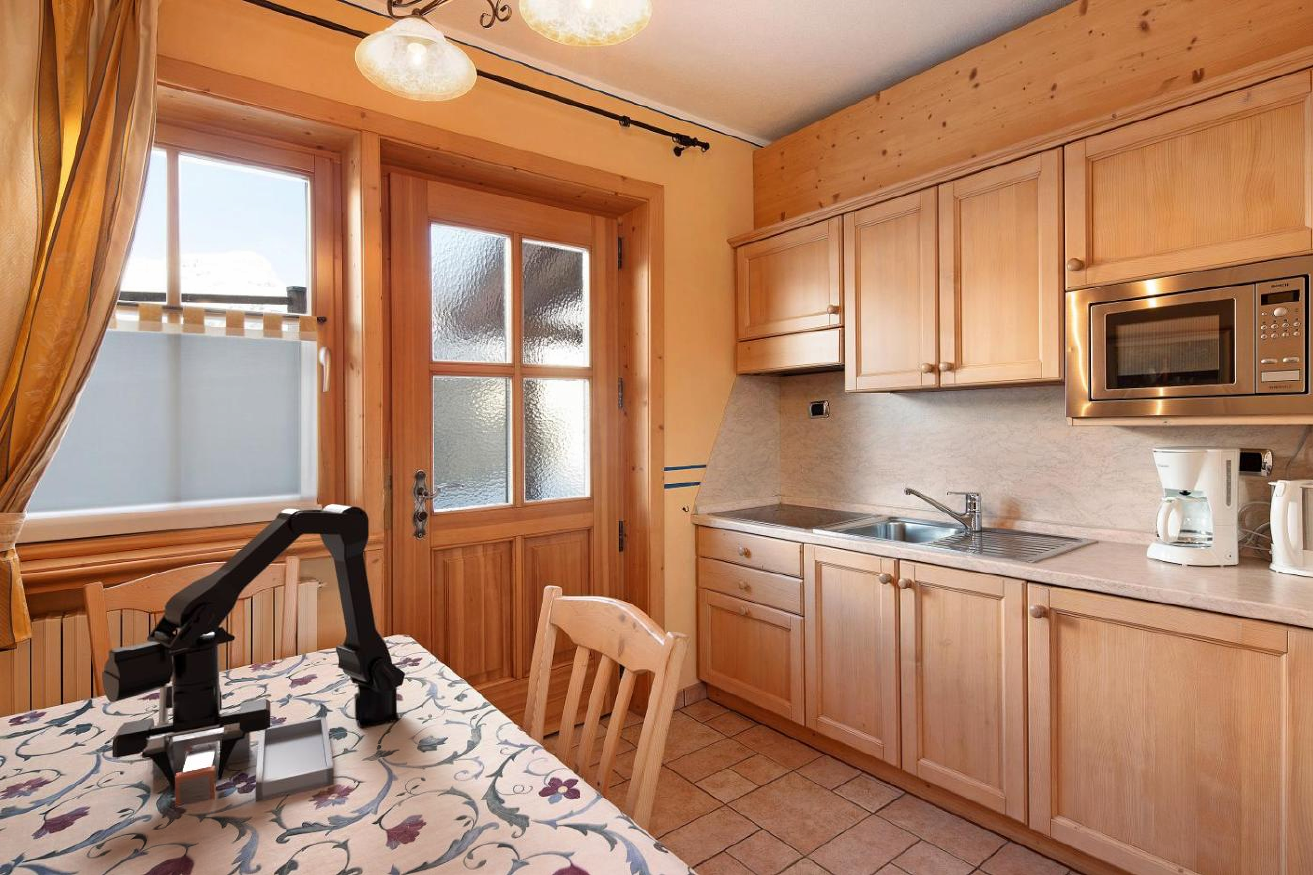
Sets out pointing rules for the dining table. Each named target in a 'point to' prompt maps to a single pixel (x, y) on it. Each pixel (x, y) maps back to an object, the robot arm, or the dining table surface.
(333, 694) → the dining table surface
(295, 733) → the tray
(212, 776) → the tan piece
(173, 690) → the robot arm
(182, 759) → the block
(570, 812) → the dining table surface
